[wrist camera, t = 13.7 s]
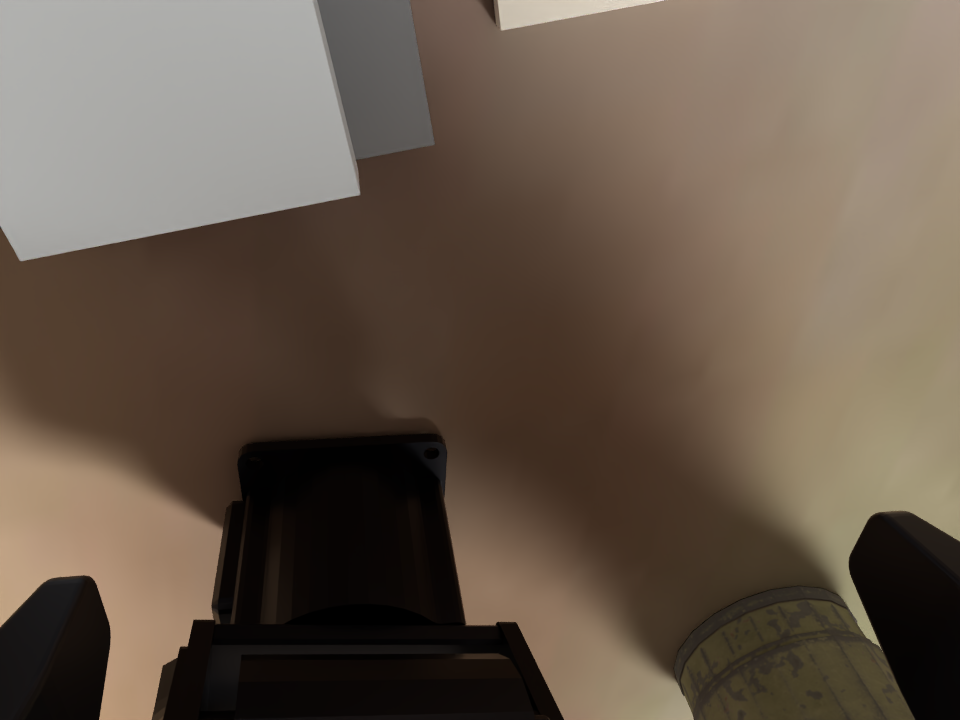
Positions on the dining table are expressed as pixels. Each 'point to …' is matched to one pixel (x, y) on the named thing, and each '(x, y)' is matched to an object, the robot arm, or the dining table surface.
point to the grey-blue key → (163, 118)
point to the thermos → (787, 662)
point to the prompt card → (552, 10)
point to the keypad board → (378, 74)
